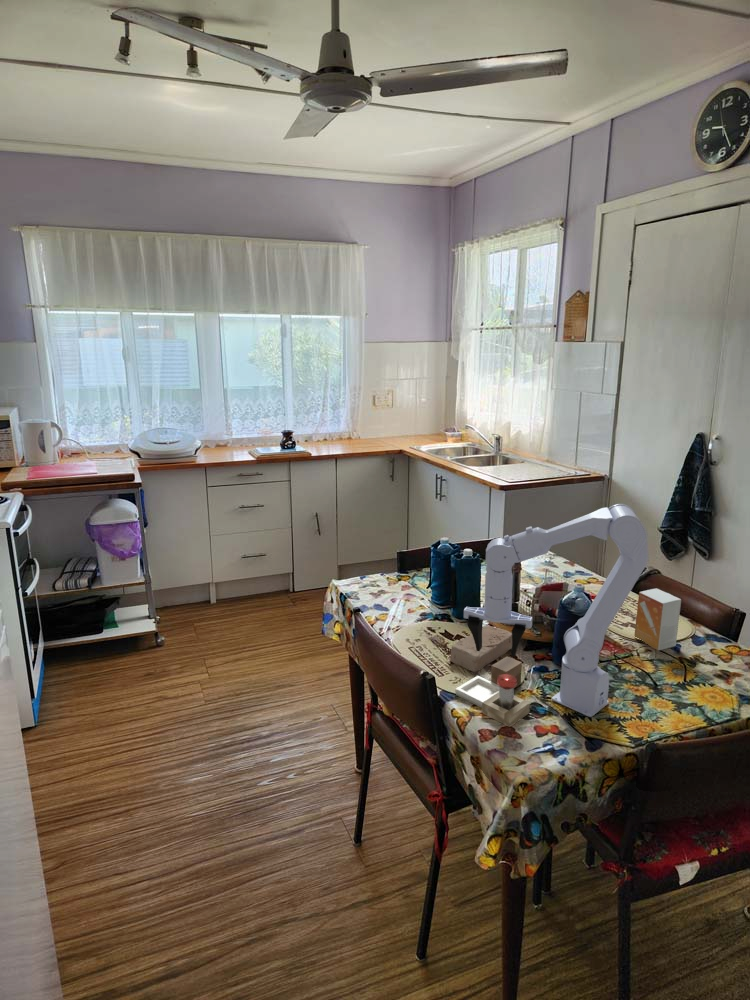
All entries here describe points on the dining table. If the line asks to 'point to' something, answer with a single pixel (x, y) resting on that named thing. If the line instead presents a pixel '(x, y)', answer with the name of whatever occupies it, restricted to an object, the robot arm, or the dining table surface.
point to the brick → (492, 648)
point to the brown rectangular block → (506, 669)
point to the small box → (657, 618)
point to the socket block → (503, 715)
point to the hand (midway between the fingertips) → (496, 652)
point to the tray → (477, 690)
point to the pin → (506, 690)
